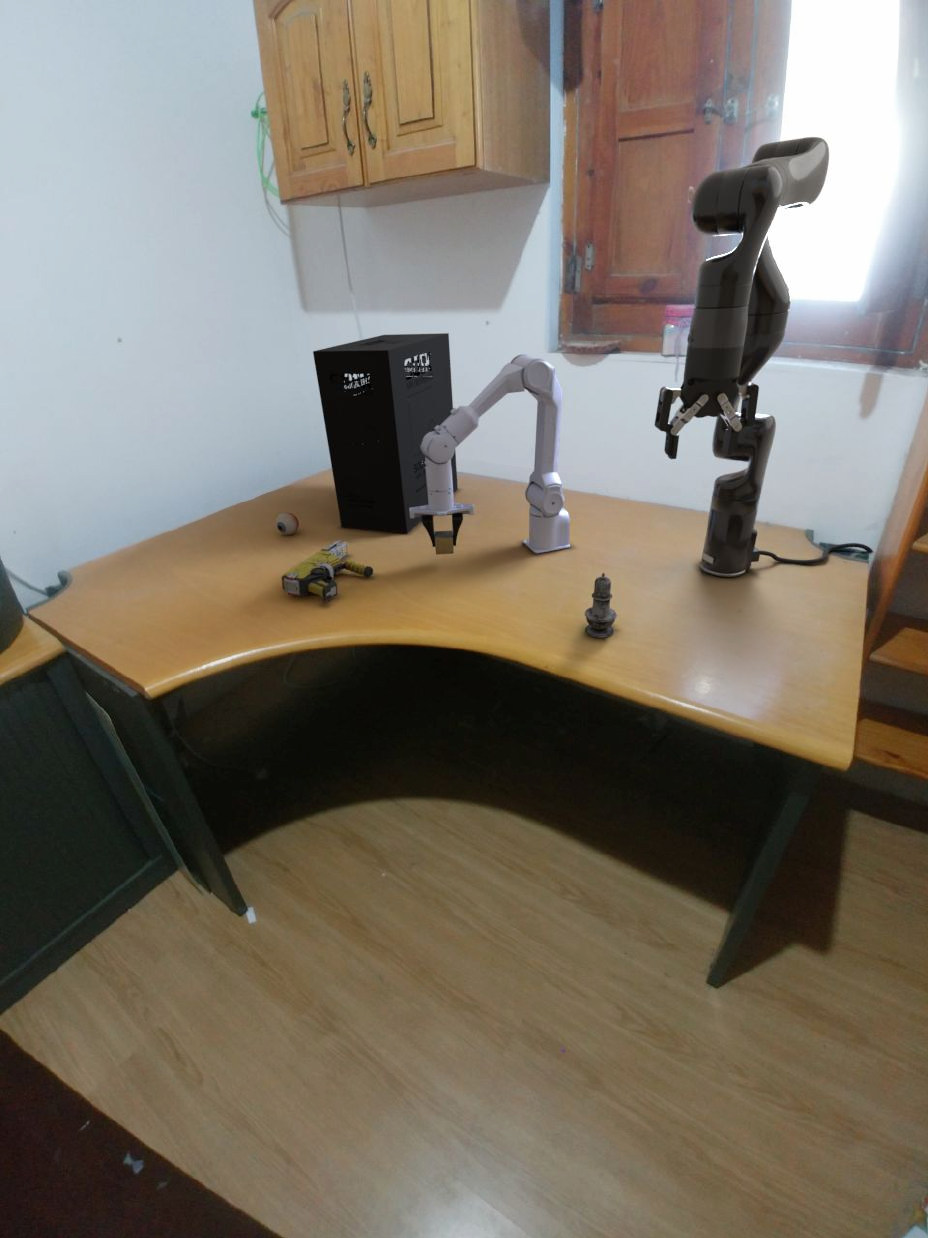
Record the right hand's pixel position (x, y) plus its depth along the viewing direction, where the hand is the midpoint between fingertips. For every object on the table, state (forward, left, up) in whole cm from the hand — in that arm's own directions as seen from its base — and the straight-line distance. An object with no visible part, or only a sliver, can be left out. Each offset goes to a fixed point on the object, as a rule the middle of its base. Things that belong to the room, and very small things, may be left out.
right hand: (699, 456), depth 94 cm
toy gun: (+64, -38, -33) cm, 81 cm away
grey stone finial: (+12, -5, -33) cm, 36 cm away
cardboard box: (+48, -84, -33) cm, 102 cm away
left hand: (+39, -41, -28) cm, 63 cm away
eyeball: (+80, -70, -33) cm, 111 cm away
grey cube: (+39, -41, -30) cm, 64 cm away
